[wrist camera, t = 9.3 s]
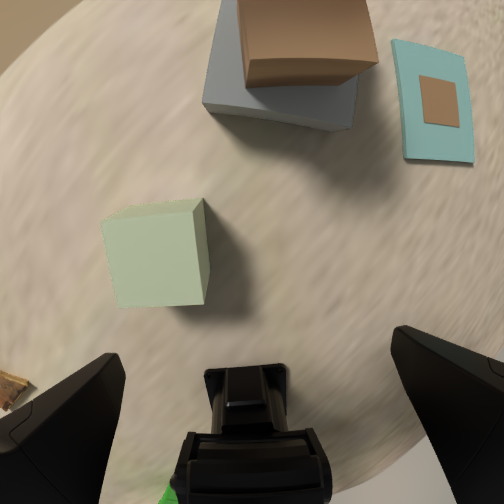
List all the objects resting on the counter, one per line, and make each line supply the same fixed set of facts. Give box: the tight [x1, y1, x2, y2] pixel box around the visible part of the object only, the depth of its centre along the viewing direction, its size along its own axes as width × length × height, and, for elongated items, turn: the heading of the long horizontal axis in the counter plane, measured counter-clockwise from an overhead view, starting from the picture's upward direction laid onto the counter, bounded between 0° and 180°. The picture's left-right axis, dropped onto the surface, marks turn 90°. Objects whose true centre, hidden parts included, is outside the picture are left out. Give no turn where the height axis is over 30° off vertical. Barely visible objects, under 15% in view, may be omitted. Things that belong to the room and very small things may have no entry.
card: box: [391, 39, 475, 163], centre depth 17 cm, size 9×7×1 cm
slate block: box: [202, 0, 359, 132], centre depth 15 cm, size 8×8×4 cm
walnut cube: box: [237, 0, 379, 89], centre depth 11 cm, size 5×5×5 cm
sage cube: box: [100, 198, 211, 308], centre depth 18 cm, size 5×5×5 cm
